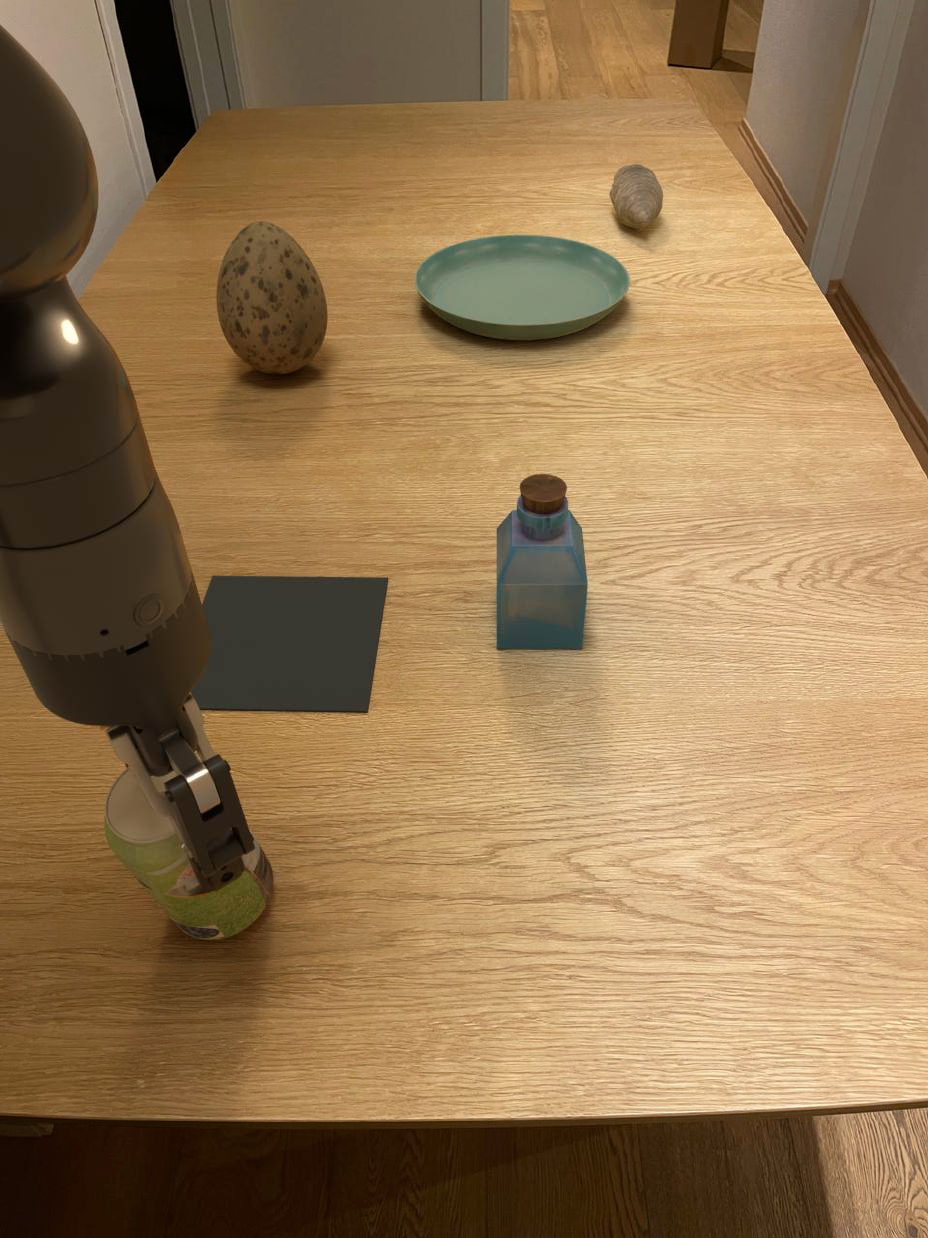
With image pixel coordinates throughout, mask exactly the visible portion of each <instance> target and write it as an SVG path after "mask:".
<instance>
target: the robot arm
mask: <svg viewBox="0 0 928 1238" xmlns="http://www.w3.org/2000/svg"><path fill="white" fill-rule="evenodd" d="M99 193H100V192H99V180H98V171H97V165H96V162H95V159H94V154H93V151H92V148H91V145H90V141H89V139H88V136H87V134H86V131H85V128H84V127H83V124H82V122H81V120H80V118H79V116H78V114H77V113H76V111H75V108H74V107H73V106H72V104H71V102H70V100H69V98H68V97H67V96H66V94H65V93H64V91H63V90H62V89H61V88H60V86H59V85H58V83H57V82H56V81H55V80H54V79H53V77H52V76H51V75H50V74H49V73H48V71H47V70H46V69H45V68H44V67H43V66H42V65H41V63H40V62H39V61H38V60H37V59H36V58H35V57H34V56H33V55H32V54H31V53H30V52H29V51H28V50H27V49H26V48H25V47H24V45H23V44H21V42H19V41H18V40H17V39H16V38H15V37H14V36H13V35H12V34H11V33H10V32H9V31H8V30H7V29H6V28H5V27H4V26H3V25H2V24H0V624H1V626H2V629H3V630H4V632H5V634H6V637H7V639H8V641H9V643H10V645H11V647H12V649H13V651H14V653H15V655H16V657H17V659H18V661H19V663H20V665H21V667H22V669H23V672H24V674H25V676H26V678H27V681H28V682H29V684H30V686H31V688H32V690H33V692H34V694H35V696H36V698H37V699H38V700H39V702H40V703H41V705H43V706H44V708H46V709H47V710H48V711H49V712H51V714H53V715H55V716H57V717H58V718H61V719H63V720H65V721H68V722H71V723H74V724H78V725H84V726H91V727H98V728H99V729H100V731H102V730H104V734H105V736H106V739H107V741H108V743H109V745H110V746H111V748H112V750H113V752H114V755H115V756H116V757H117V758H118V760H119V761H121V762H122V763H123V764H124V765H125V767H126V768H128V767H129V768H130V770H131V772H132V774H133V776H134V778H135V780H136V782H137V784H138V786H139V788H140V790H141V791H142V793H143V795H144V797H145V799H146V801H147V803H148V805H149V807H150V809H151V810H152V811H153V812H155V813H156V814H157V815H158V816H161V817H168V818H169V820H170V822H171V824H172V826H173V828H174V830H175V832H176V834H177V836H178V838H179V840H180V842H181V843H179V846H180V848H181V850H182V851H183V853H185V852H186V853H187V856H188V858H189V861H190V863H191V866H192V868H193V871H194V874H195V876H196V879H197V881H198V883H199V884H200V886H201V887H202V889H203V890H204V892H206V893H209V892H213V891H215V892H216V891H218V890H219V889H221V888H223V887H224V886H226V885H228V884H229V883H231V882H233V881H234V880H236V879H238V878H239V877H241V876H242V872H243V871H244V869H245V865H244V862H243V859H242V856H243V855H244V854H245V855H246V854H248V853H250V852H251V851H253V850H255V845H254V842H253V841H254V838H253V836H252V834H251V832H250V830H251V829H250V830H249V828H250V826H249V824H248V822H247V819H246V816H245V812H244V810H243V807H242V804H241V801H240V797H239V795H238V791H237V788H236V786H235V783H234V780H233V777H232V774H231V771H232V767H231V766H230V764H229V762H228V760H227V759H223V757H222V755H220V754H219V753H217V754H216V752H215V750H214V749H213V747H212V745H211V742H210V740H209V739H208V736H207V735H206V732H205V730H204V726H205V725H204V724H205V718H204V715H203V713H202V710H200V709H199V707H198V705H197V703H196V701H195V699H194V697H193V695H192V694H191V690H192V689H193V687H194V686H195V684H196V683H197V681H198V680H199V679H200V677H201V676H202V674H203V672H204V670H205V668H206V666H207V664H208V661H209V658H210V654H211V635H210V632H209V628H208V625H207V621H206V618H205V614H204V611H203V607H202V601H201V597H200V594H199V590H198V586H197V583H196V580H195V579H196V578H195V576H194V573H193V569H192V565H191V562H190V559H189V555H188V551H187V548H186V545H185V541H184V537H183V533H182V530H181V527H180V524H179V522H178V518H177V515H176V513H175V509H174V507H173V505H172V503H171V501H170V497H169V496H168V494H167V492H166V490H165V487H164V486H163V484H162V481H161V479H160V477H159V475H158V472H157V468H156V466H155V463H154V459H153V456H152V452H151V449H150V446H149V442H148V438H147V435H146V433H145V429H144V425H143V421H142V418H141V415H140V411H139V408H138V403H137V400H136V397H135V394H134V391H133V387H132V385H131V382H130V379H129V377H128V374H127V372H126V370H125V368H124V366H123V364H122V362H121V359H120V358H119V355H118V354H117V352H116V350H115V348H114V346H113V345H112V344H111V342H110V341H109V340H108V338H107V337H106V335H104V333H103V332H102V331H101V330H100V329H99V327H98V326H97V325H96V323H94V321H93V320H92V319H91V318H90V316H89V315H88V314H87V312H86V311H85V310H84V308H83V307H82V305H81V303H80V302H79V301H78V299H77V297H76V295H75V293H74V292H73V289H72V288H71V285H70V282H69V280H68V277H67V275H68V274H69V273H71V271H72V269H73V268H74V267H75V266H76V265H77V263H78V262H79V261H80V259H81V258H82V256H83V255H84V253H85V251H86V249H87V248H88V246H89V244H90V241H91V239H92V237H93V236H92V235H93V233H94V230H95V227H96V222H97V218H98V211H99V210H98V209H99ZM195 752H196V753H195ZM197 755H198V756H197ZM126 768H125V769H126ZM173 771H175V773H176V775H177V776H176V777H174V778H172V779H170V780H168V781H167V782H165V783H164V786H165V789H166V791H164V792H159V791H157V789H156V787H155V785H154V783H153V781H152V779H151V777H150V776H155V777H162V776H165V775H167V774H169V773H171V772H173ZM248 826H249V827H248Z"/></svg>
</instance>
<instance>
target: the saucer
mask: <svg viewBox="0 0 928 1238" xmlns="http://www.w3.org/2000/svg"><path fill="white" fill-rule="evenodd" d="M630 284H631V278H630V273H629V272H628V270H627V268H626V267H625V266H624V264H623V263H622V262H621V261H620V260H619V259H617V258H616V257H615V256H613V255H612V254H610V253H609V252H607V251H605V250H602V249H600V248H598V247H596V246H594V245H591V244H587V243H584V242H580V241H577V240H573V239H570V238H569V239H568V238H564V237H556V236H552V235H551V236H550V235H540V234H539V235H538V234H502V235H501V234H500V235H492V236H484V237H477V238H474V239H468V240H464V241H460V242H457V243H453V244H450V245H448V246H446V247H444V248H441V249H439V250H438V251H436V252H434V253H432V254H430V255H429V256H427V257H426V258H425V259H424V260H423V261H422V262H421V263H420V264H419V265H418V267H417V269H416V271H415V273H414V285H415V288H416V290H417V293H418V295H419V297H420V298H421V299H422V300H423V302H424V303H425V304H426V306H427V307H428V308H429V309H430V310H432V312H434V314H435V315H436V316H438V317H439V318H441V319H442V320H444V321H445V322H447V323H449V324H450V325H452V326H454V327H455V328H458V329H460V330H462V331H466V332H468V333H470V334H474V335H478V336H483V337H485V338H486V337H487V338H491V339H497V340H505V341H538V340H547V339H548V340H549V339H553V338H559V337H564V336H568V335H571V334H574V333H577V332H579V331H583V330H585V329H586V328H588V327H591V326H593V325H594V324H597V323H598V322H599V321H601V320H602V319H604V318H605V317H607V316H608V315H610V314H611V312H613V311H614V310H615V309H616V308H617V307H618V306H619V305H620V304H621V302H622V301H623V299H624V298H625V296H626V294H627V293H628V291H629V288H630Z"/></svg>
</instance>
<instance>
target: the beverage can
mask: <svg viewBox="0 0 928 1238" xmlns="http://www.w3.org/2000/svg"><path fill="white" fill-rule="evenodd" d="M176 776H177V775H176V773H175V771H173V772H171V773H169V774H167V775H165V776H162V777H155V776H150V777H151V779H152V781H153V783H154V785H155V787H156V789H157V791H159V792H164V791H166V789H165V786H164V783H165V782H167V781H168V780H170V779H172V778H174V777H176ZM103 822H104V823H103V828H104V829H103V830H104V835H105V838H106V841H107V844H108V846H109V847H110V849H111V850H112V852H113V854H114V855H115V856H116V857H117V858H118V859H119V861H121V863H122V864H123V865H124V866H125V868H127V869H128V871H129V872H130V874H132V875H133V877H134V878H135V879H136V880H137V881H138V883H140V885H141V886H142V887H143V888H144V890H146V891H147V893H148V894H149V895H150V896H151V897H152V899H153V900H154V901H155V902H156V903H157V904H158V905H159V907H160V908H161V909H162V910H163V911H164V912H165V914H166V915H167V916H168V917H169V918H170V919H171V921H172V922H173V923H174V924H175V925H176V926H177V927H178V928H179V929H180V930H181V931H182V932H183V933H185V934H186V935H188V936H189V937H191V938H194V939H198V940H204V941H219V940H223V939H228V938H230V937H233V936H236V935H238V934H239V933H241V932H242V931H244V930H246V929H247V928H249V926H251V925H252V924H253V923H254V922H255V921H256V920H257V919H258V918H259V917H260V916H261V915H262V913H263V911H264V910H265V909H266V907H267V905H268V903H269V900H270V898H271V895H272V891H273V886H274V872H273V868H272V865H271V862H270V860H269V858H268V856H267V854H266V853H265V851H264V850H263V848H262V846H261V844H260V842H259V841H258V840H257V838H256V836H255V834H254V833H253V831H252V830H251V828H250V826H249V825H248V827H249V830H250V832H251V834H252V836H253V838H254V841H253V842H254V845H255V850H253V851H251V852H250V853H248V854H246V855H245V854H244V855H243V856H242V859H243V862H244V865H245V869H244V871H243V872H242V876H241V877H239V878H238V879H236V880H234V881H233V882H231V883H229V884H228V885H226V886H224V887H223V888H221V889H219V890H218V891H216V892H215V891H213V892H209V893H206V892H204V890H203V889H202V887H201V886H200V884H199V883H198V881H197V879H196V876H195V874H194V871H193V868H192V866H191V863H190V861H189V858H188V856H187V853H186V852H185V853H183V851H182V850H181V848H180V846H179V843H181V842H180V840H179V838H178V836H177V834H176V832H175V830H174V828H173V826H172V824H171V822H170V820H169V818H168V817H161V816H158V815H157V814H156V813H155V812H153V811H152V810H151V809H150V807H149V805H148V803H147V801H146V799H145V797H144V795H143V793H142V791H141V790H140V788H139V786H138V784H137V782H136V780H135V778H134V776H133V774H132V772H131V770H130V768H129V767H128V768H125V769H124V770H123V771H122V772H121V773H120V774H119V775H118V776H117V778H116V779H115V780H114V782H113V783H112V785H111V786H110V788H109V790H108V792H107V795H106V798H105V803H104V820H103Z"/></svg>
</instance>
